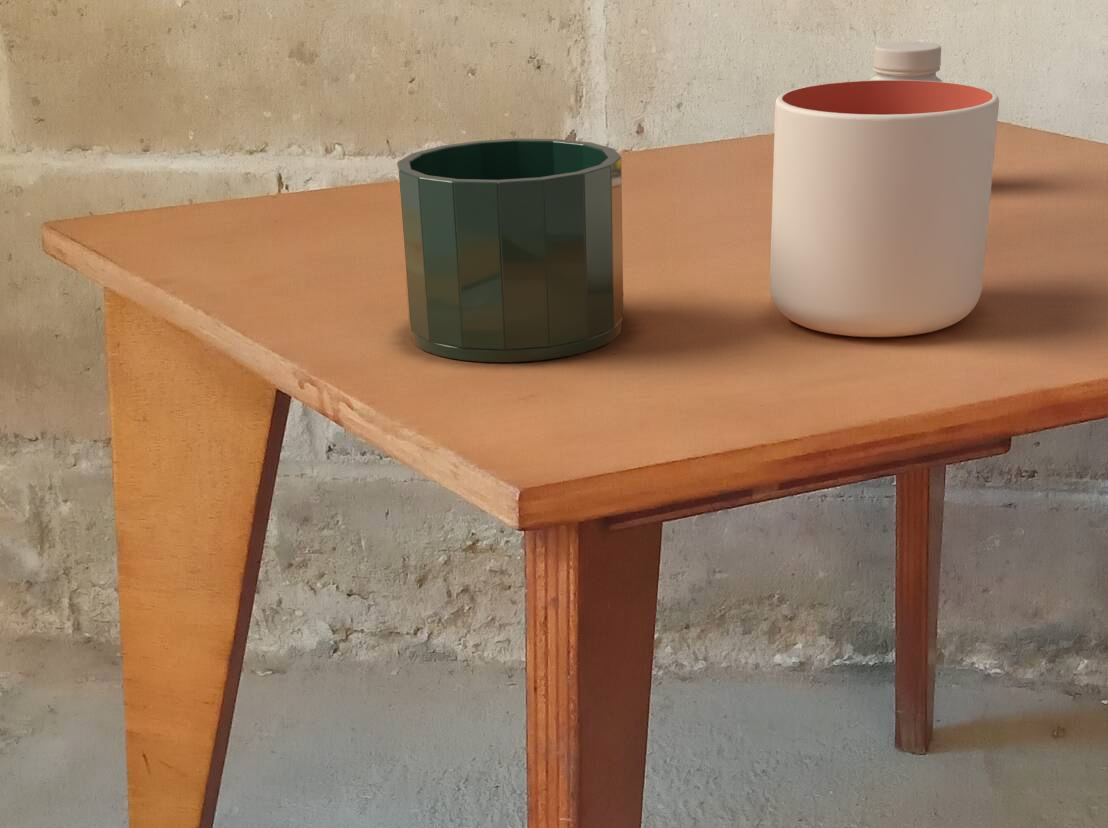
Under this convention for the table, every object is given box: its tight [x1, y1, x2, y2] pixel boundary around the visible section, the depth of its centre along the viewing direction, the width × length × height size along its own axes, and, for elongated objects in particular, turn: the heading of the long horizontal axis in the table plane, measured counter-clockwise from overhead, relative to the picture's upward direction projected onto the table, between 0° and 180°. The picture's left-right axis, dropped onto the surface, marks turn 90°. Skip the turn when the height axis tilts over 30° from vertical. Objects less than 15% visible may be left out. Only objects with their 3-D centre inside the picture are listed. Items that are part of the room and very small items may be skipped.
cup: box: [769, 79, 1000, 338], centre depth 80 cm, size 10×10×10 cm
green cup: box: [396, 138, 624, 363], centre depth 80 cm, size 10×10×8 cm
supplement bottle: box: [869, 41, 943, 82], centre depth 104 cm, size 5×5×8 cm
